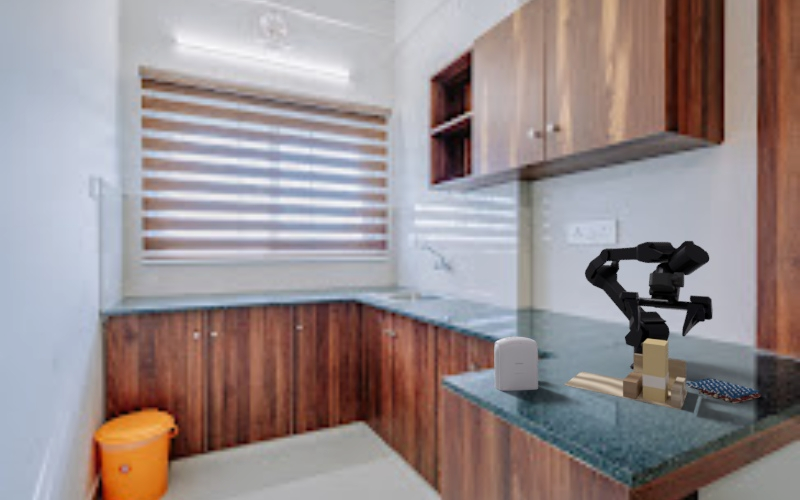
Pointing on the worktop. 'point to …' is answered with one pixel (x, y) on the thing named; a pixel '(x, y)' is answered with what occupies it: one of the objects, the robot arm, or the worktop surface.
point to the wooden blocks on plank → (636, 383)
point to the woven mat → (724, 390)
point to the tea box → (655, 370)
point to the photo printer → (516, 364)
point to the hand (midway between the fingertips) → (659, 332)
